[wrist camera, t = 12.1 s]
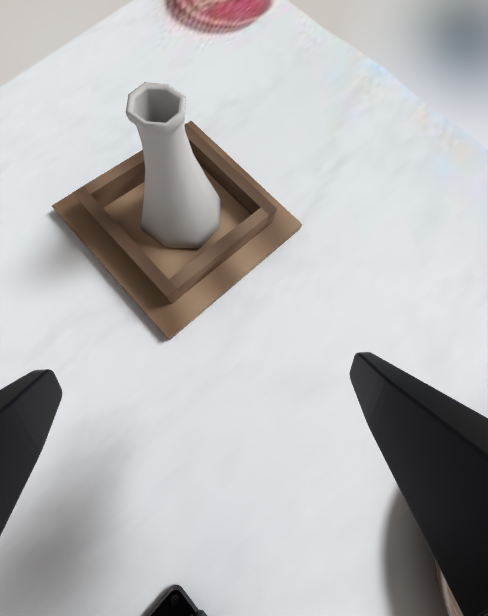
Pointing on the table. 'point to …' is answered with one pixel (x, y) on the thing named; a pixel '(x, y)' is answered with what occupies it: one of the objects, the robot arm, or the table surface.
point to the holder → (177, 261)
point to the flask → (171, 171)
